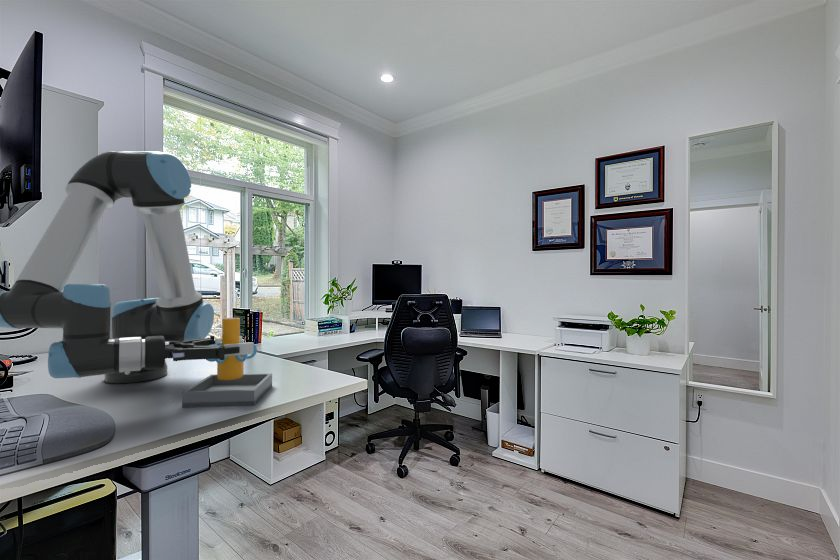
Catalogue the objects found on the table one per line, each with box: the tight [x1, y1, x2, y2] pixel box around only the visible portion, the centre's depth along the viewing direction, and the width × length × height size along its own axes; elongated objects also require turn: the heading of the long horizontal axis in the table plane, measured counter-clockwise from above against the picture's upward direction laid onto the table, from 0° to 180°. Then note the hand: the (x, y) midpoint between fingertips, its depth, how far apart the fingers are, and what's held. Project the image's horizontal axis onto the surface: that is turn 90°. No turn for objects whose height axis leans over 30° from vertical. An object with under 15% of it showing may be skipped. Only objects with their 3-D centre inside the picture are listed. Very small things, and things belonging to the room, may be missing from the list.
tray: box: [181, 373, 273, 408], centre depth 98 cm, size 16×16×4 cm
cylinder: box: [205, 317, 258, 380], centre depth 98 cm, size 12×10×15 cm
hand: (247, 344), depth 100 cm, fingers closed on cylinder, 11 cm apart
